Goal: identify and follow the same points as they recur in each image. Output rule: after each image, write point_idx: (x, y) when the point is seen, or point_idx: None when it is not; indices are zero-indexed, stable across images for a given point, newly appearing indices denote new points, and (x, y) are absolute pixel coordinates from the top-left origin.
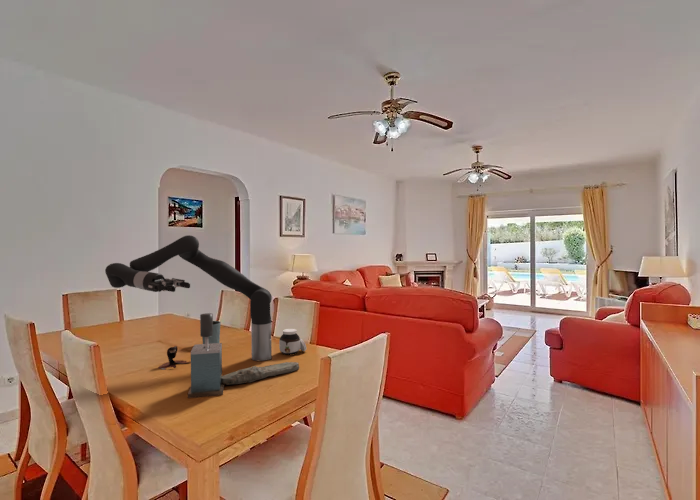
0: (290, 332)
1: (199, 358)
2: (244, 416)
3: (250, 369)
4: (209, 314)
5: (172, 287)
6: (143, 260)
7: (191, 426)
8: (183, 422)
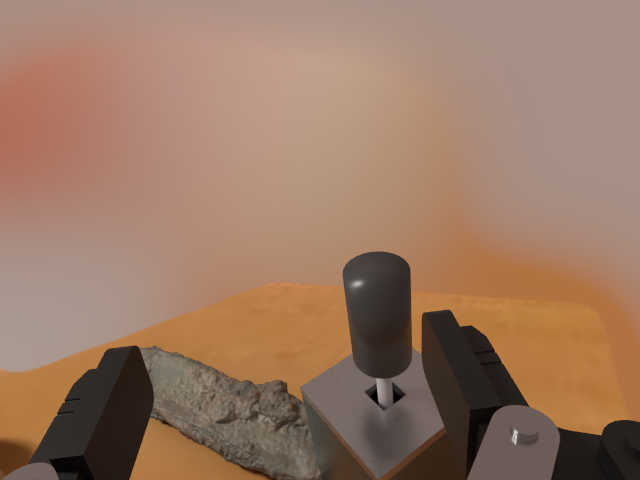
0: None
1: None
2: (460, 308)
3: (257, 398)
4: (369, 262)
5: (461, 328)
6: None
7: (575, 361)
8: (581, 390)
